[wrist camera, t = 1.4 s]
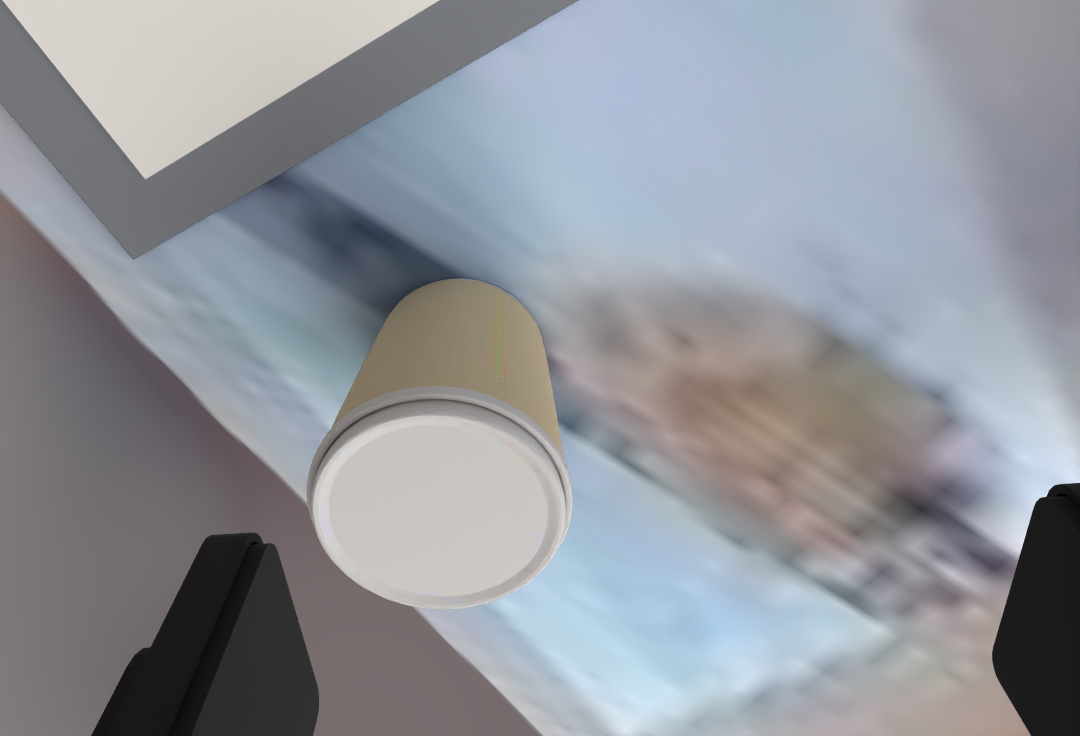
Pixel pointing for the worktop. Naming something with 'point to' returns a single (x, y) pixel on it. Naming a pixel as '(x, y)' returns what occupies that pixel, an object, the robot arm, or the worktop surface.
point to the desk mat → (257, 141)
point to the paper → (195, 59)
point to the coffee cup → (445, 454)
